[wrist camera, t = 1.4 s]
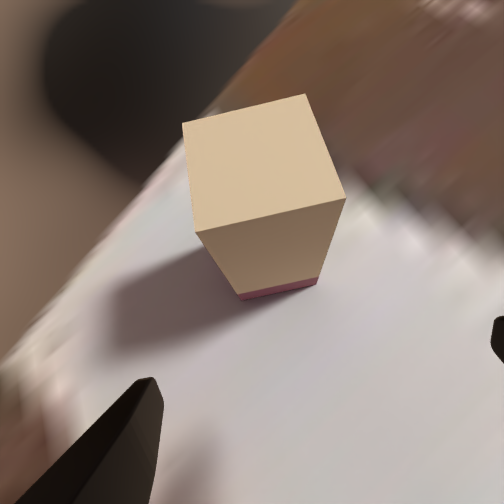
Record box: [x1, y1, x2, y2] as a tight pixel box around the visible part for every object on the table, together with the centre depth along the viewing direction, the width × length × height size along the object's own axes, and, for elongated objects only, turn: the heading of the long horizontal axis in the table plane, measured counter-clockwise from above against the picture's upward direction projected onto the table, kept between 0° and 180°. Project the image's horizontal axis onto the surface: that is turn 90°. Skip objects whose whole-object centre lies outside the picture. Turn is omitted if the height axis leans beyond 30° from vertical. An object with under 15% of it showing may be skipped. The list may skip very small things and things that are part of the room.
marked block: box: [182, 94, 346, 301], centre depth 17 cm, size 6×6×12 cm
